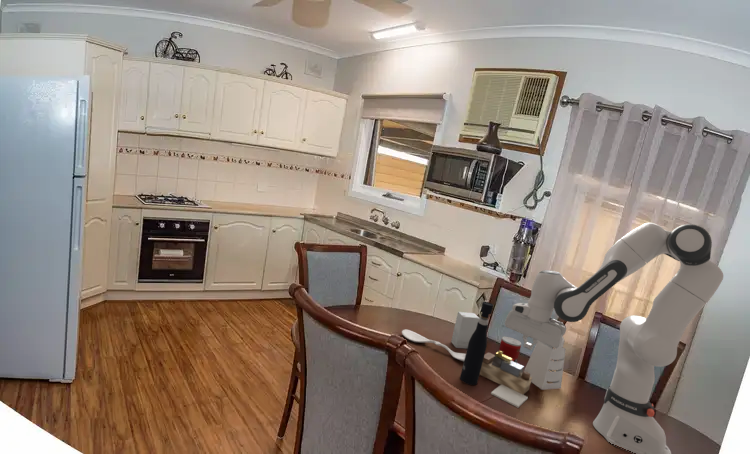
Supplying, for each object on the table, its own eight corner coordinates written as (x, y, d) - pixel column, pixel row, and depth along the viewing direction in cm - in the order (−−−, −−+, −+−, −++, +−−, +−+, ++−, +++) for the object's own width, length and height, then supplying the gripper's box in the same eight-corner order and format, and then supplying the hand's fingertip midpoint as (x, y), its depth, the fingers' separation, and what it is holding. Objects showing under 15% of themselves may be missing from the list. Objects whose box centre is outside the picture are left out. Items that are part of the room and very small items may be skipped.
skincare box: (467, 343, 195) (474, 312, 193) (472, 350, 190) (480, 318, 187) (450, 342, 193) (457, 310, 191) (455, 348, 187) (463, 315, 185)
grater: (540, 374, 179) (553, 328, 176) (560, 388, 170) (574, 340, 167) (521, 375, 174) (534, 328, 171) (541, 389, 165) (555, 340, 162)
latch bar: (511, 360, 164) (512, 356, 164) (509, 362, 162) (511, 357, 162) (496, 354, 167) (498, 349, 167) (494, 355, 166) (496, 350, 165)
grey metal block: (521, 374, 163) (524, 366, 162) (517, 377, 159) (520, 369, 159) (504, 366, 167) (506, 358, 166) (499, 369, 163) (502, 361, 163)
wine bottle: (480, 382, 160) (500, 305, 156) (471, 386, 155) (491, 307, 151) (465, 374, 164) (484, 299, 160) (456, 378, 160) (475, 301, 155)
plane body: (528, 389, 162) (534, 369, 161) (522, 395, 157) (528, 374, 156) (484, 368, 173) (489, 349, 172) (477, 373, 167) (482, 353, 166)
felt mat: (527, 398, 155) (528, 397, 155) (518, 407, 147) (518, 406, 147) (501, 385, 161) (501, 384, 161) (490, 393, 153) (491, 392, 153)
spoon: (466, 368, 171) (468, 360, 170) (397, 337, 187) (398, 330, 186) (474, 361, 178) (476, 353, 178) (406, 332, 194) (408, 325, 194)
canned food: (516, 371, 176) (522, 346, 175) (496, 366, 178) (502, 341, 176) (513, 363, 184) (520, 339, 182) (494, 358, 185) (501, 334, 183)
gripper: (569, 323, 154) (558, 358, 156) (514, 301, 165) (504, 335, 168) (565, 326, 149) (553, 363, 151) (508, 303, 160) (498, 338, 162)
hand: (527, 348), depth 159 cm, fingers closed
